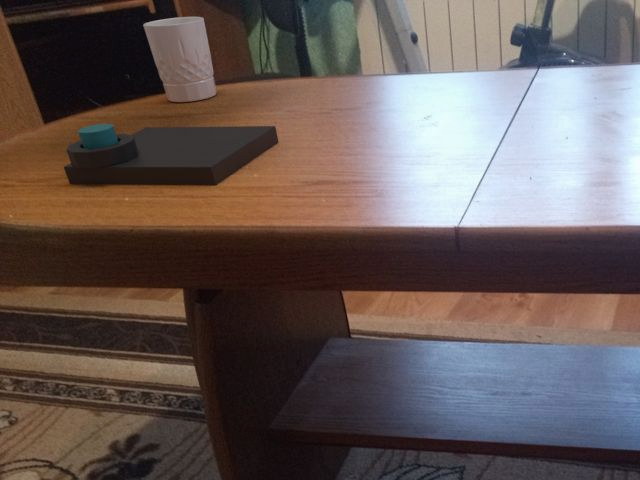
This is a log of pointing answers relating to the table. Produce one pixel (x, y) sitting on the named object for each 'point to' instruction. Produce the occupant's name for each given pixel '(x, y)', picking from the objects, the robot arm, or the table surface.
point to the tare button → (98, 135)
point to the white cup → (182, 57)
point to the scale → (170, 156)
